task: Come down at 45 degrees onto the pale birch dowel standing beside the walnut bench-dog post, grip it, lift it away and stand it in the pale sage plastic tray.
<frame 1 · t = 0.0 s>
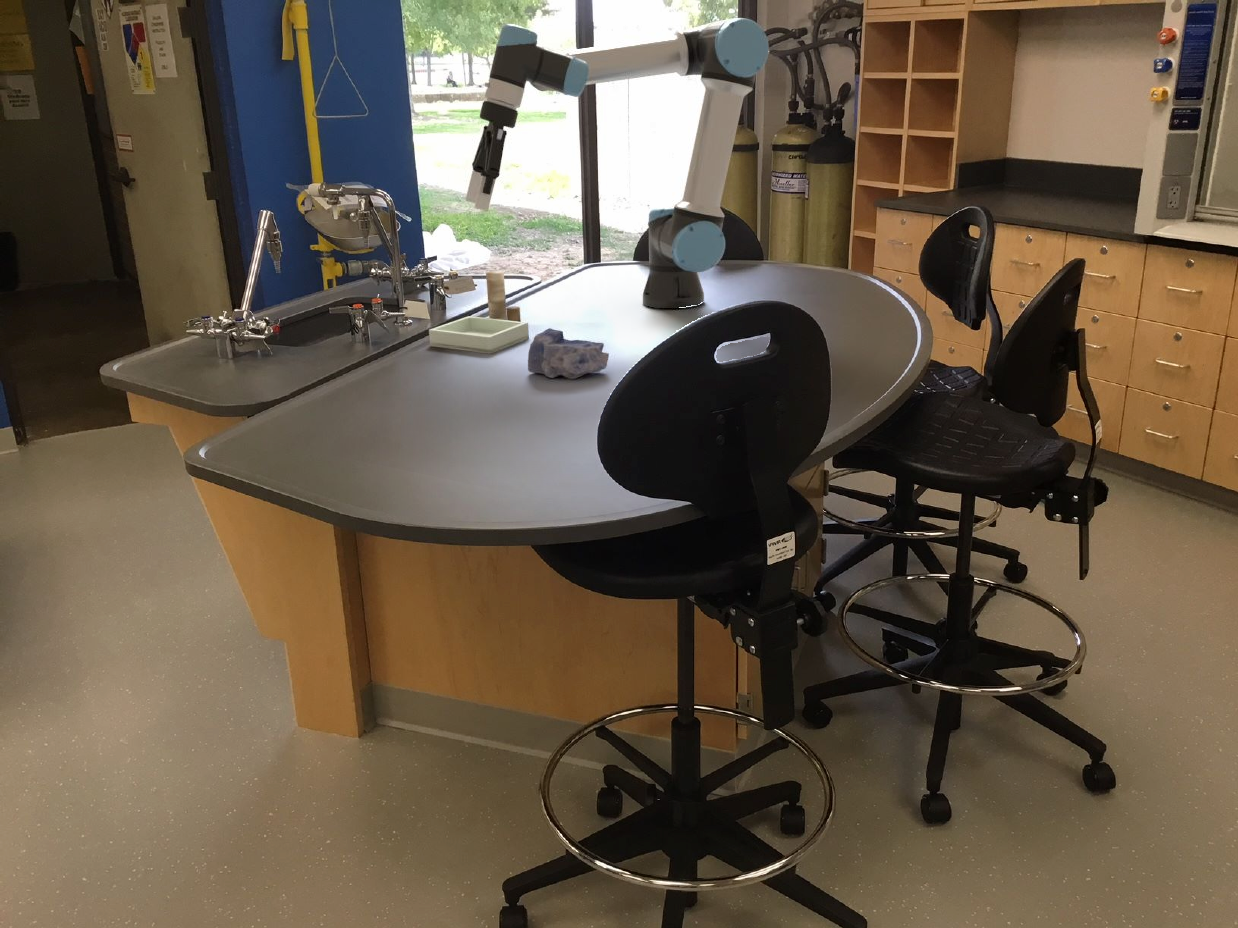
hand: (476, 206, 215), 28 cm above the countertop, tool tilted 20°, fingers open, 13 cm apart
mineral: (568, 376, 194), on the countertop
dowel: (498, 324, 233), on the countertop
tray: (480, 342, 218), on the countertop
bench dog: (514, 329, 228), on the countertop
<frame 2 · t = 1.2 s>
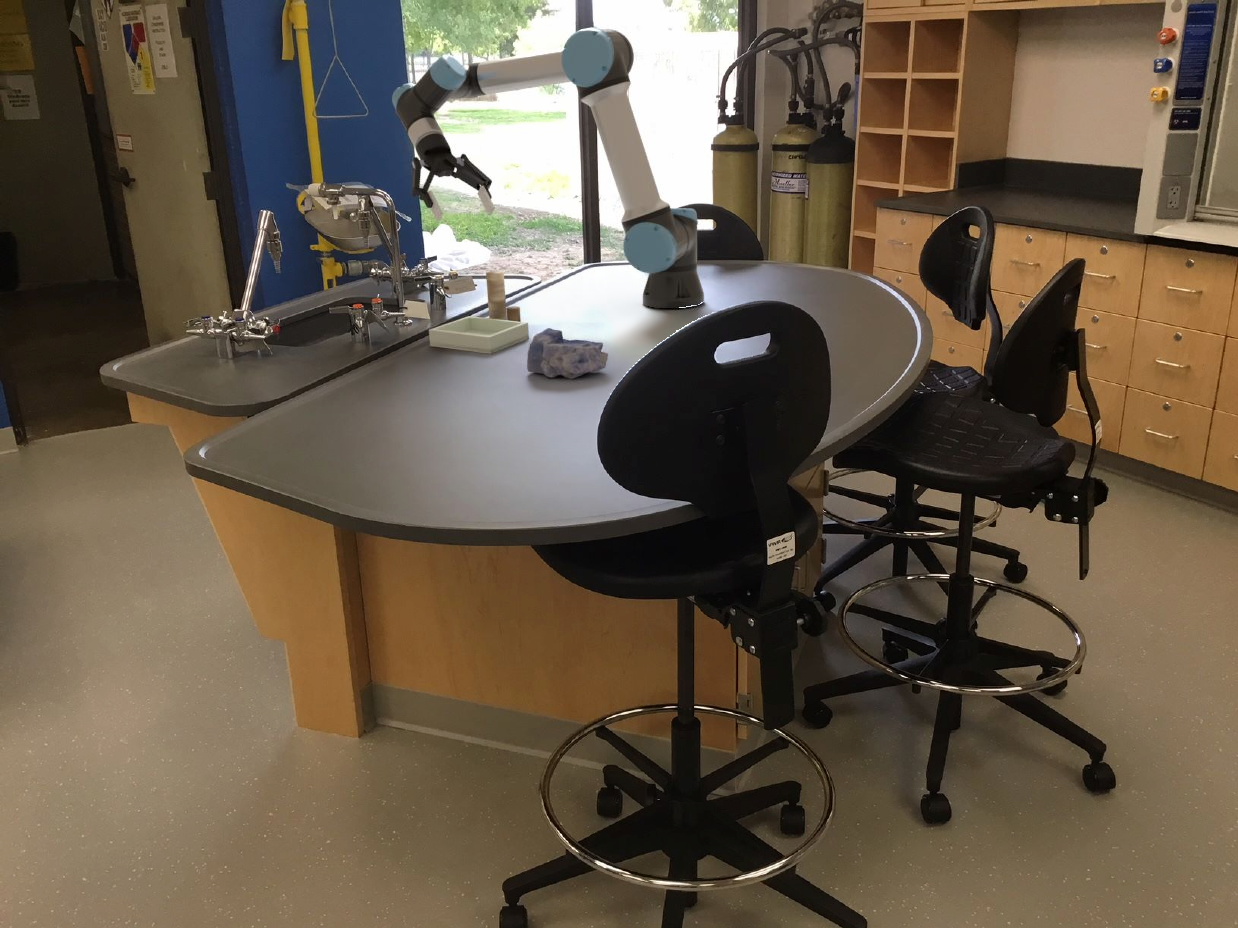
hand: (466, 214, 232), 24 cm above the countertop, tool tilted 45°, fingers open, 13 cm apart
nothing on the countertop moved.
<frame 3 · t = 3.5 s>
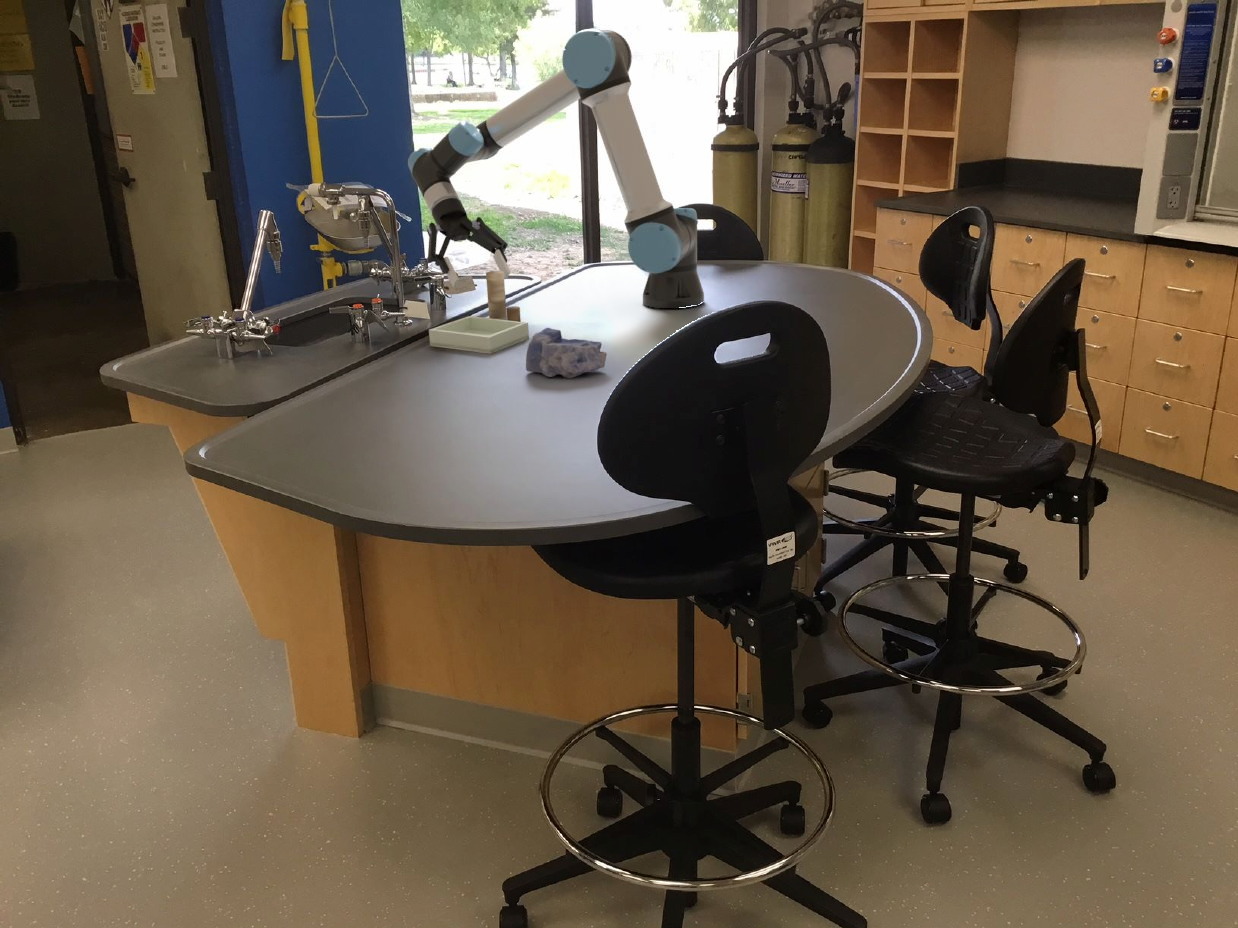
hand: (482, 279, 233), 10 cm above the countertop, tool tilted 45°, fingers open, 13 cm apart
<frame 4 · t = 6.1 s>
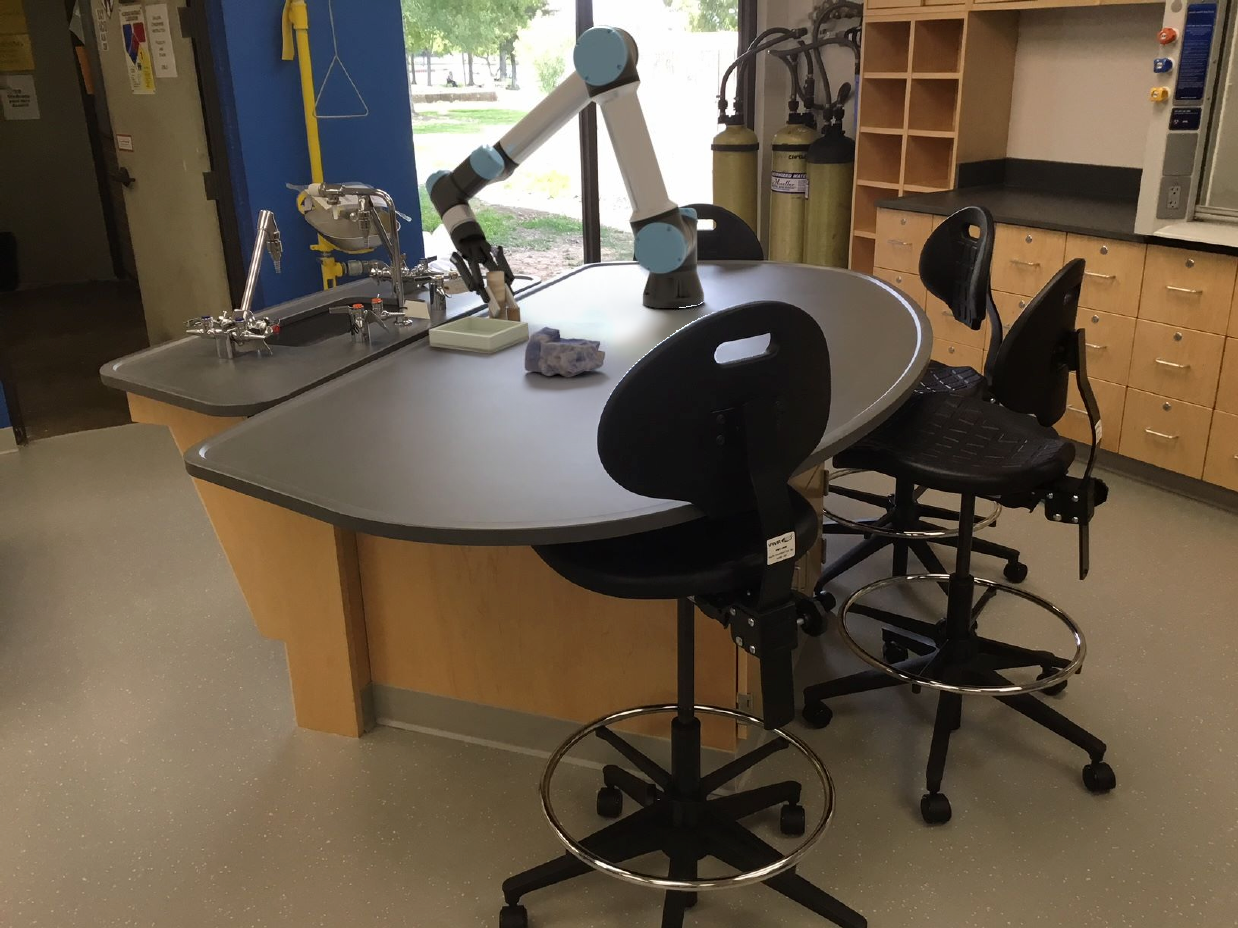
hand: (506, 311, 229), 4 cm above the countertop, tool tilted 45°, fingers closed on dowel, 4 cm apart
dowel: (498, 324, 233), on the countertop, touching gripper
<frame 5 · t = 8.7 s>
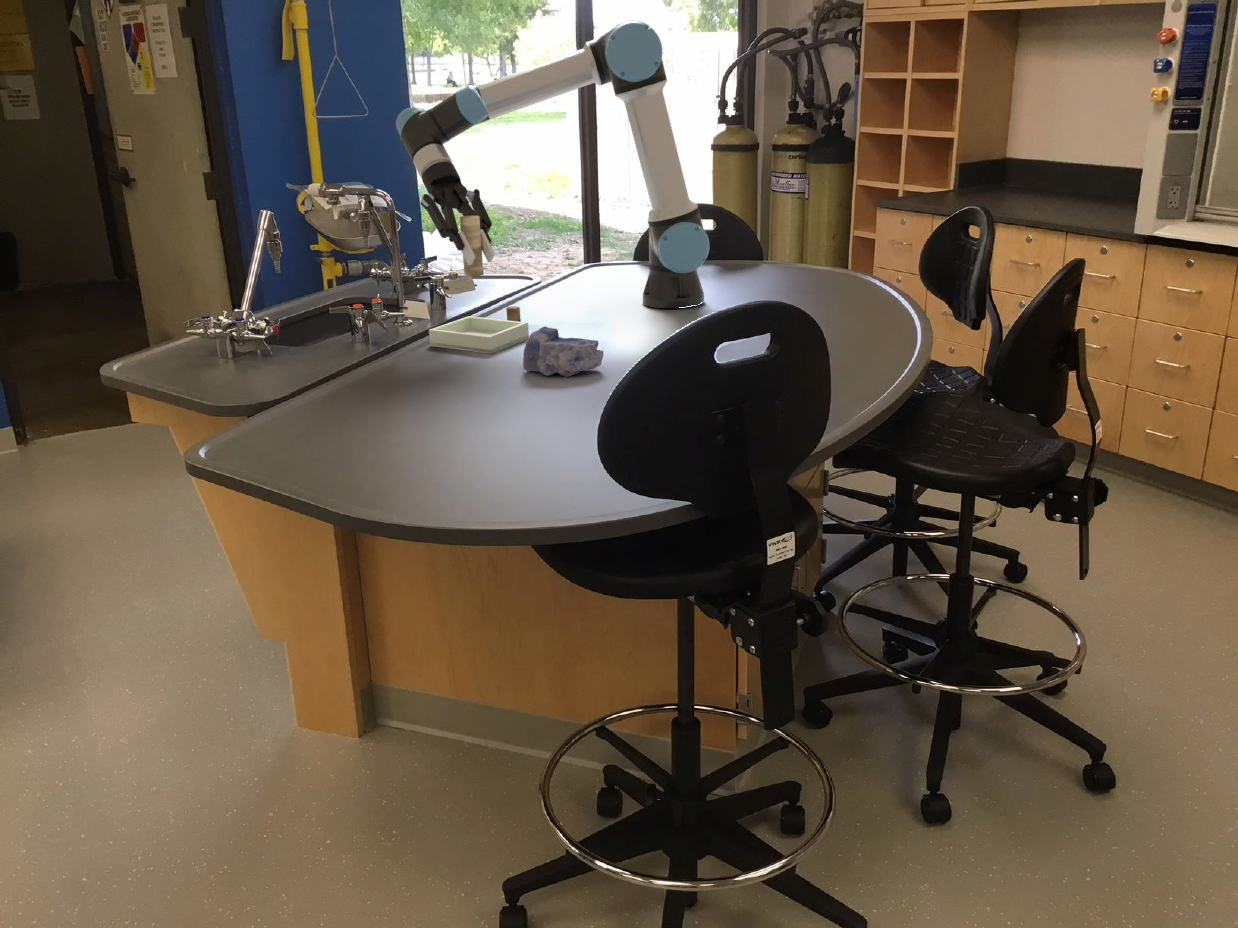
hand: (481, 259, 209), 18 cm above the countertop, tool tilted 45°, fingers closed on dowel, 4 cm apart
dowel: (474, 274, 213), point 15 cm above the countertop, touching gripper
when the fingers open (6 cm above the countertop, at t = 11.3 s): dowel drops 1 cm, resting on tray.
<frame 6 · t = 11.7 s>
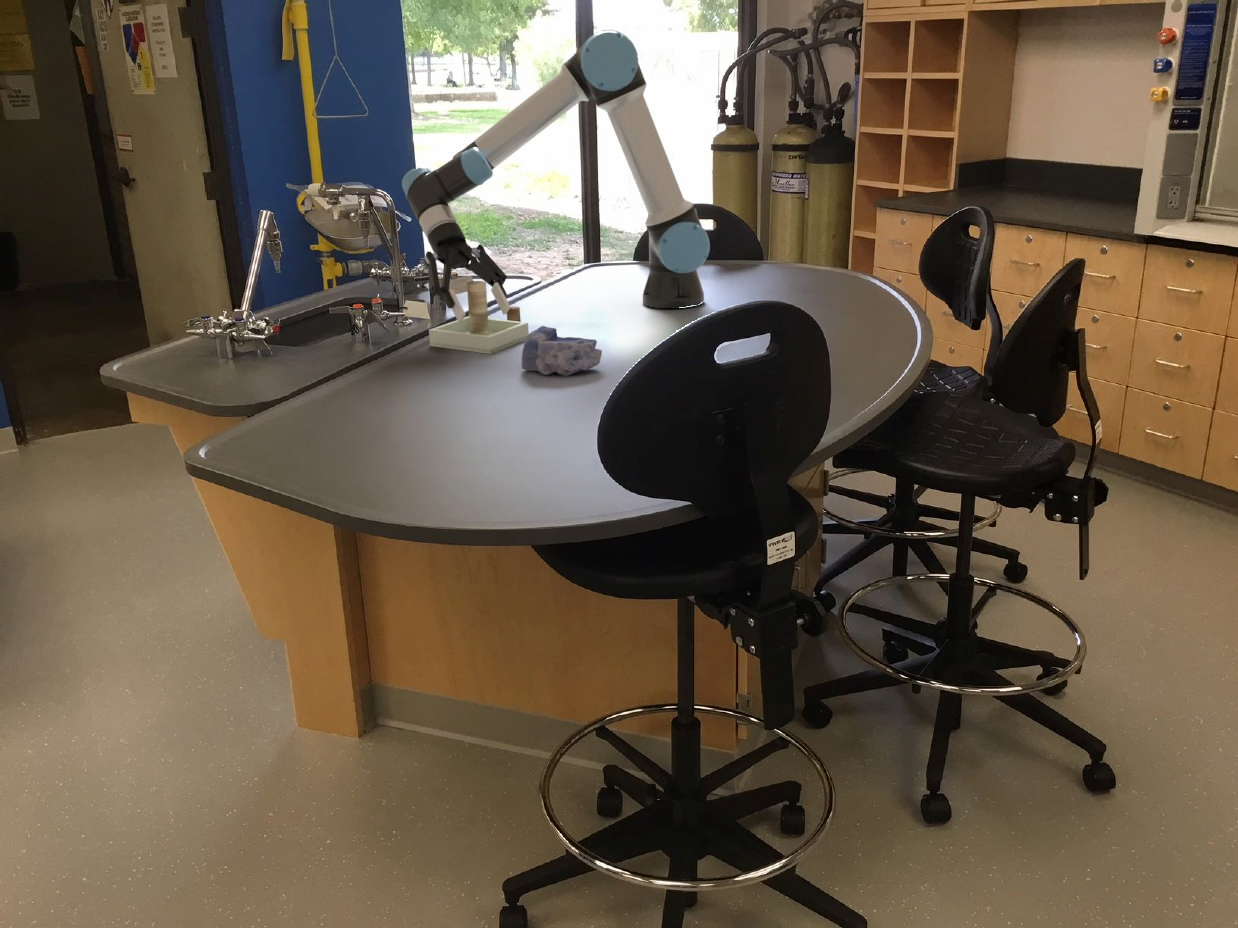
hand: (484, 314, 214), 7 cm above the countertop, tool tilted 45°, fingers open, 10 cm apart
dowel: (479, 338, 218), point 1 cm above the countertop, touching tray
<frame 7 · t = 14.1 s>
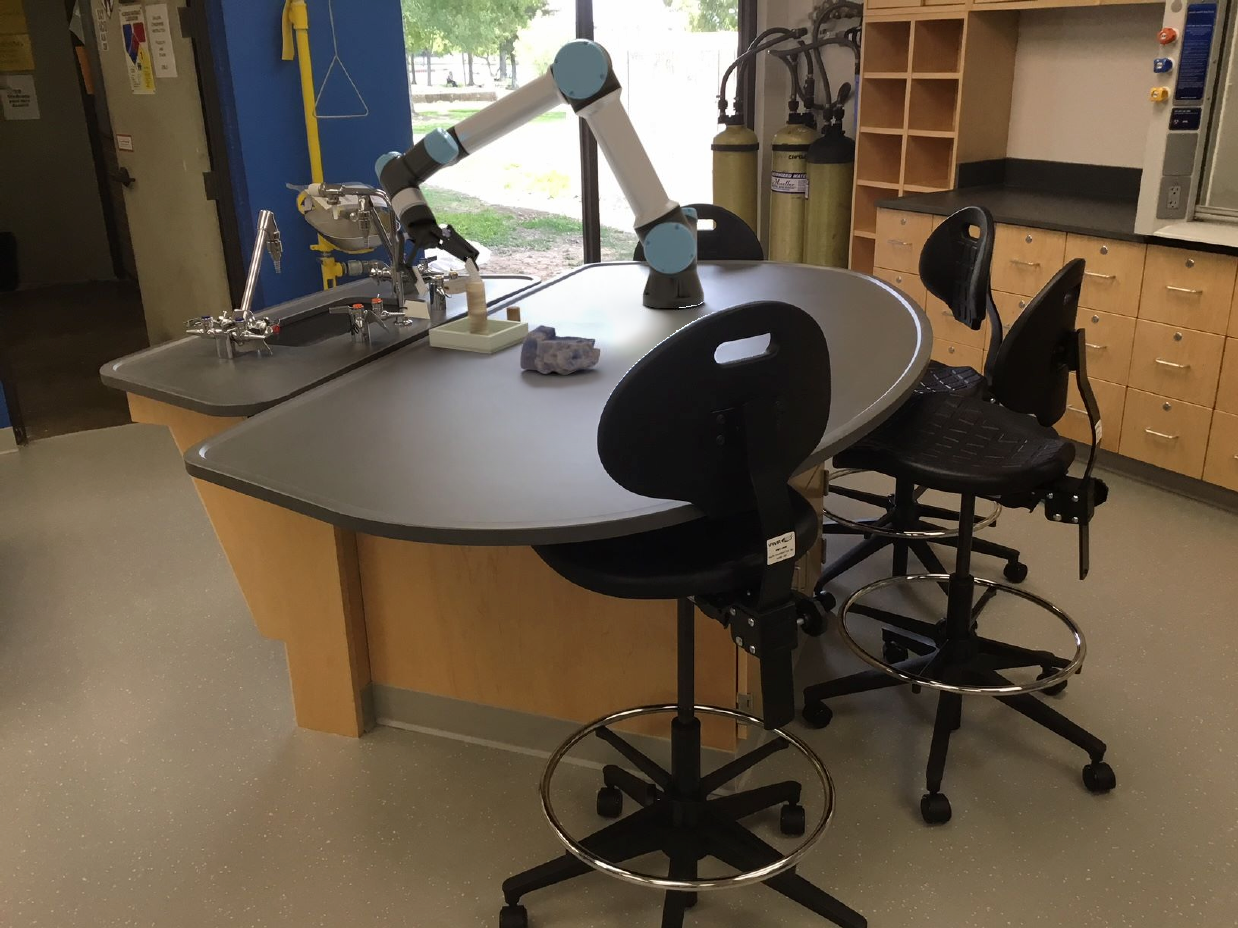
hand: (452, 289, 223), 10 cm above the countertop, tool tilted 45°, fingers open, 13 cm apart
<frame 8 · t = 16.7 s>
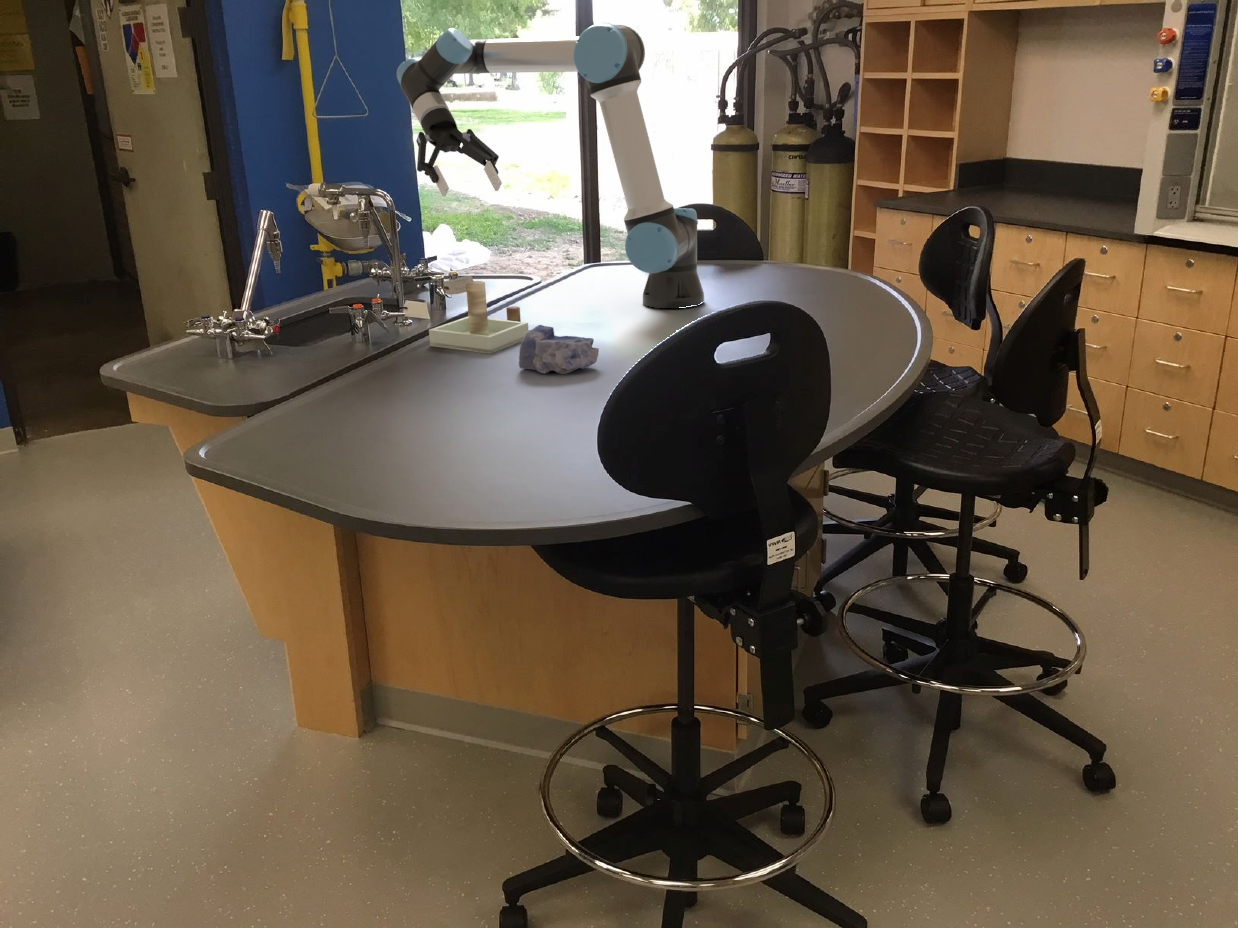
hand: (472, 189, 228), 30 cm above the countertop, tool tilted 45°, fingers open, 13 cm apart
at the end: dowel 0.1 cm from the tray (horizontally); dowel point 0.8 cm above the countertop; the gripper is holding nothing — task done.
